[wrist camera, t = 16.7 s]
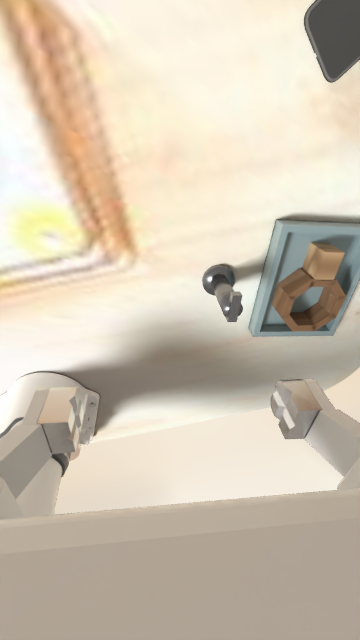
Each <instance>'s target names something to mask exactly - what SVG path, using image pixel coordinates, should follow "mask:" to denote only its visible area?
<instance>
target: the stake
mask: <svg viewBox="0 0 360 640" xmlns="http://www.w3.org/2000/svg"><path fill="white" fill-rule="evenodd" d="M234 281H235V277H234V274H233V272H232V270H231V269H230V268H229V267H227V266H225V265H215V266H213V267H211V268H209V269H208V270H207V271H206V272H205V274H204V276H203V279H202V283H203V286H204V289H205V290H206V291H207V292H208V293H209V294H211V295H216V297H217V300H218V302H219V304H220V307H221V309H222V311H223V314H224V316H225V317H226V319H227V322H236V321H237V317H238V316H239V315H240V314H241V313H242V310H243V307H242V305H241V298H242V295H241V293H240V292H234V290H233V289H232V286H233V284H234Z"/></svg>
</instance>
